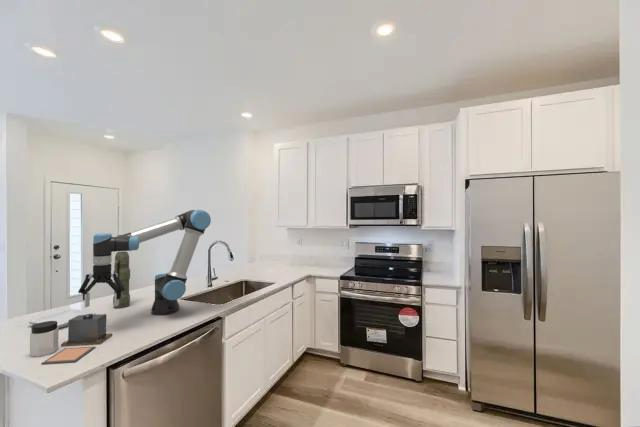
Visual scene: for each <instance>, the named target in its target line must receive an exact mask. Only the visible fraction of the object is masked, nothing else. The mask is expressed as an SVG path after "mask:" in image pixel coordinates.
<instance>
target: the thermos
mask: <svg viewBox="0 0 640 427" xmlns="http://www.w3.org/2000/svg"><path fill="white" fill-rule="evenodd" d="M115 273H118V276H119V279H120V281H121V282H122V284H123V286H124V288H125V290H124V291H122V292H121V298H120V299H119V305H118V306H114V296H113V298H112V299H113V300H112V305H113V309H116V310H117V309H118V310H119V309H125V308H129V307H130V305H131V304H130V303H131V294H130V279H131V268H130V255H129V253H128V251H117V252H116V253H115V256H114V270H113V274H115ZM113 282H114V283H115V284H116V282H115V281H114V280H113ZM116 285H117V284H116ZM113 292H114V294H115V293H116V292H115V291H114V290H113Z"/></svg>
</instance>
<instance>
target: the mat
mask: <svg viewBox="0 0 640 427" xmlns="http://www.w3.org/2000/svg"><path fill="white" fill-rule="evenodd" d="M94 349H96V346H95V345H94V346H82V347H78V346H77V347H65V348H63V349H61V350H60V351H58V352H56V353H55V354H54V355H52V356H50V357H49V358H47V359H45V360H44V361H43V362H41V365H42V366H43V365H56V364H58V365H59V364H71V363H72V364H73V363H76V362H77V363H78V361H80V360H81V359H83V357H86V355H88V354H89V353H90V352H92V351H93V350H94Z"/></svg>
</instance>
